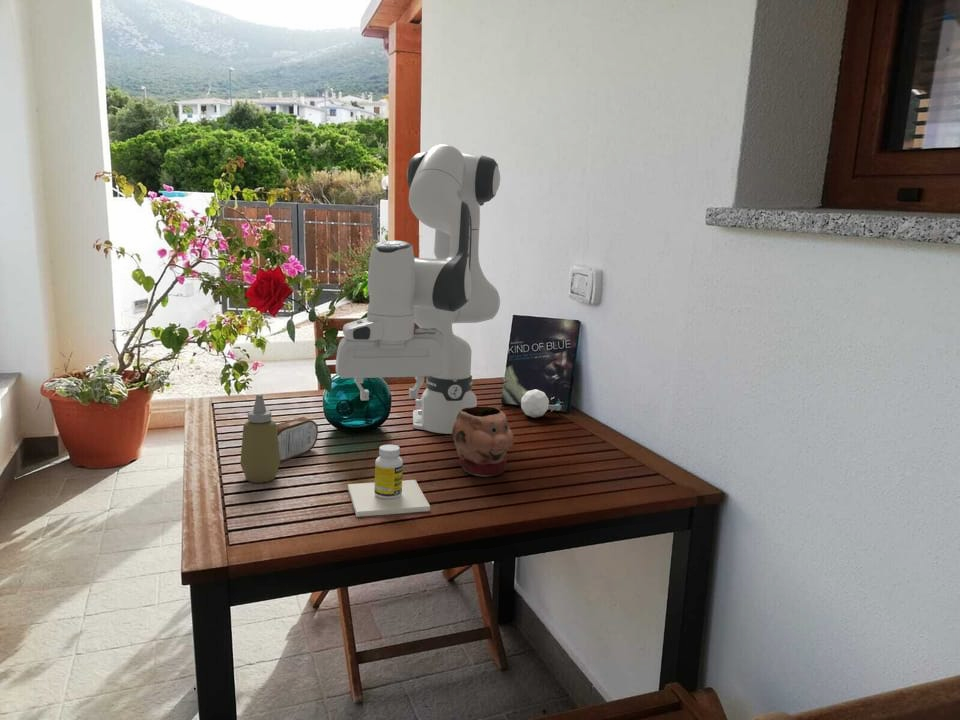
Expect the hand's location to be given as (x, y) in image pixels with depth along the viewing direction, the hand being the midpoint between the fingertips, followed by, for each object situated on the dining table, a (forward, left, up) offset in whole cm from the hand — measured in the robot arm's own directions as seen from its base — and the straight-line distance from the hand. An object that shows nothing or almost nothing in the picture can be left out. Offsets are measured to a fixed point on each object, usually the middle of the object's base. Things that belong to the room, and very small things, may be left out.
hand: (389, 399), depth 138 cm
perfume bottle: (-52, +53, -21) cm, 77 cm away
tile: (0, 0, -21) cm, 21 cm away
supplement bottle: (0, 0, -20) cm, 20 cm away
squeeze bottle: (-16, -24, -21) cm, 36 cm away
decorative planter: (-14, +23, -21) cm, 34 cm away
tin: (-29, -17, -21) cm, 40 cm away
